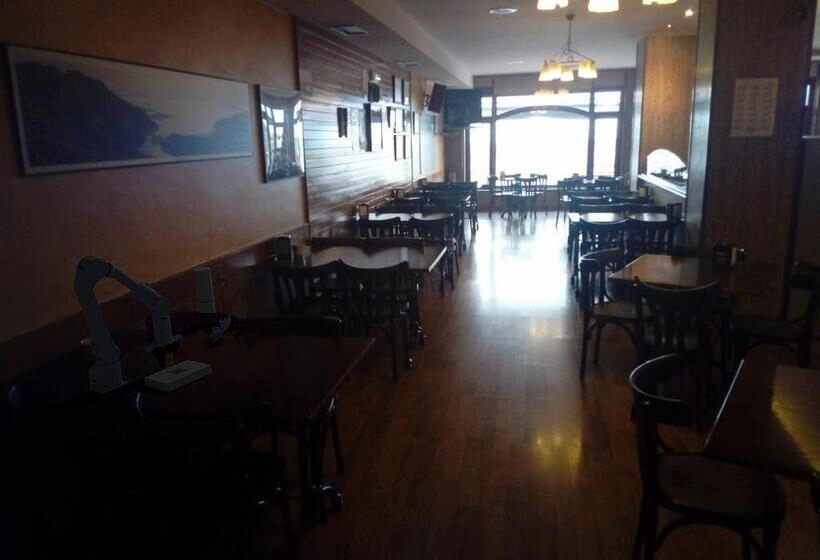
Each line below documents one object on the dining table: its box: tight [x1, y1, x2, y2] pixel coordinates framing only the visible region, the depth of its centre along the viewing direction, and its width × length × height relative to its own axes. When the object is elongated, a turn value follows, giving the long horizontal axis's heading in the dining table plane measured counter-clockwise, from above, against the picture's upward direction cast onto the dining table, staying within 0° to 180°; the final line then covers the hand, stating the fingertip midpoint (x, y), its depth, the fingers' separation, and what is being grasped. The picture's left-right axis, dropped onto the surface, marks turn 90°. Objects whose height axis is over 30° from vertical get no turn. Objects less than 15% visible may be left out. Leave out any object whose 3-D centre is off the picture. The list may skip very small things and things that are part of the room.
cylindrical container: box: [192, 266, 217, 314], centre depth 273 cm, size 7×7×25 cm
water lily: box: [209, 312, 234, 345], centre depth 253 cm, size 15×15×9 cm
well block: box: [143, 359, 213, 393], centre depth 212 cm, size 18×12×3 cm, turn 150°
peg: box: [159, 350, 176, 371], centre depth 222 cm, size 4×4×6 cm
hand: (167, 364), depth 222 cm, fingers closed on peg, 3 cm apart
